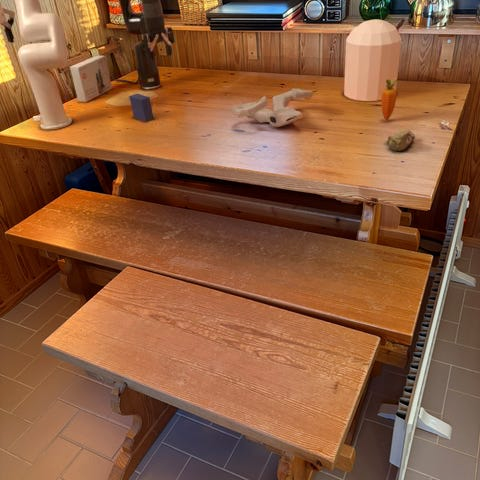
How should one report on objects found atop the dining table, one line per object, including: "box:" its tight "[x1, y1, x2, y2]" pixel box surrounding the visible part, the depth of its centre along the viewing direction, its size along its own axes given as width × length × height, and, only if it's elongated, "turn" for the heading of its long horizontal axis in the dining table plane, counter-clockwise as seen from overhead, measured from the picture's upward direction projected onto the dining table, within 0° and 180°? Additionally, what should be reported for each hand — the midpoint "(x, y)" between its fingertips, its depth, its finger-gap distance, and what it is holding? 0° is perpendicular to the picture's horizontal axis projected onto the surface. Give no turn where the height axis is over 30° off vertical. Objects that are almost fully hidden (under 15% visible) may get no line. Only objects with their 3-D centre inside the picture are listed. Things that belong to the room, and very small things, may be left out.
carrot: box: [380, 78, 398, 122], centre depth 161 cm, size 5×5×15 cm
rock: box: [387, 129, 416, 152], centre depth 146 cm, size 11×6×10 cm
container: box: [343, 18, 402, 102], centre depth 184 cm, size 21×21×28 cm
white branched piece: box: [231, 88, 314, 128], centre depth 171 cm, size 28×26×12 cm
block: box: [128, 93, 155, 123], centre depth 187 cm, size 4×9×9 cm, turn 44°
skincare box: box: [69, 54, 113, 103], centre depth 218 cm, size 21×6×16 cm, turn 158°
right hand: (161, 57), depth 189 cm, fingers open, 8 cm apart
